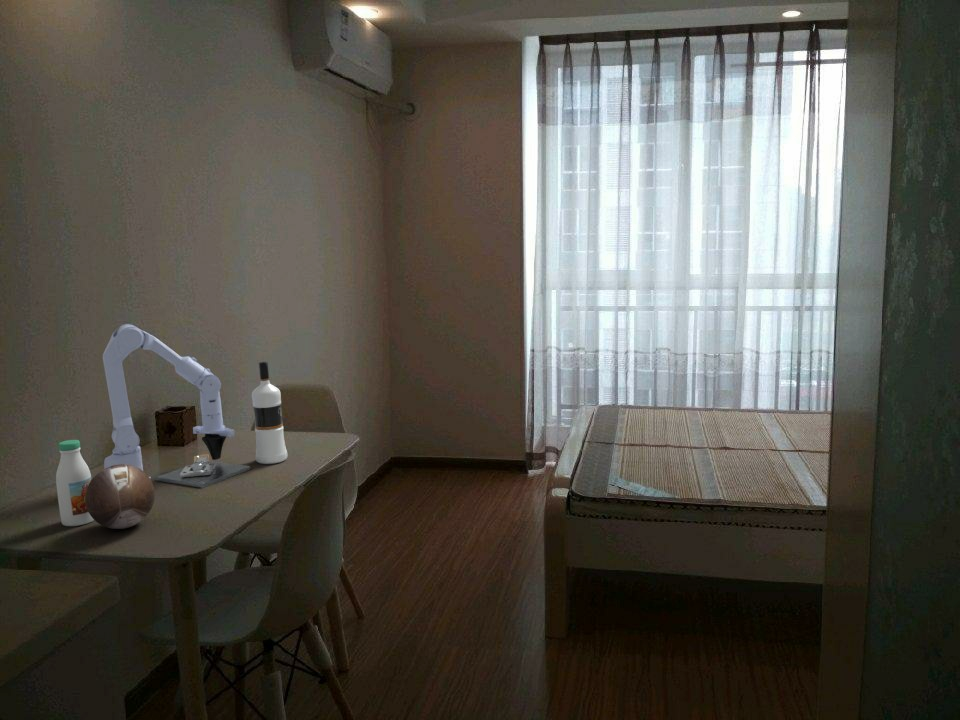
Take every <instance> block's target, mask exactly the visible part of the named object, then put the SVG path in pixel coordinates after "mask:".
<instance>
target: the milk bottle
mask: <svg viewBox="0 0 960 720" xmlns="http://www.w3.org/2000/svg"><path fill="white" fill-rule="evenodd" d="M81 449H82V448H81V442H80V440H79V439H68V440H64V441H61V442H59V443H58V450H59V451H58V452H59V453H60V459H59V463H58V465H57V466H58V467H57V470H56V475H55V483H56V485H55V486H56V491H57V492H56V493H57V502H58V509H59V515H60V521H61V525H63V526H65V527H77V526H82V525H87V524H89V523H91V522H94V521H95V520H94V519H93V518H92V517H91V516H90V514H89V512H88V510H87V507H86V503H85V495H86V490H87V487H88V485H89V483H90V481H91V480H92V479H93V478H92V474H91V470H90V468H89V466H88V464H87V463H86V461H85V460H84V459H83V456H82V454H81V452H80V451H81Z"/></svg>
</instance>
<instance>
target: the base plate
mask: <svg viewBox="0 0 960 720" xmlns="http://www.w3.org/2000/svg"><path fill="white" fill-rule="evenodd" d="M199 456H200V455H194V456H193V463H192V464H191V465H192V468H193V470H192V471H196V470H204V469H203V463H196V461H197V459H198V458H199ZM212 463H215V468H214V469H213V471H212V473H211V474H210V475H201V476H189V477H180V473H181V472H182V470H183V469H184V468H185V466H184V467H182V468H178V469H176V470H173V471H169V472H166V473H164V474H161V475H158V476H156V477H155V479H156V480H155V481H158V482H162V483H163V482H164V483H168V484H169V483H170V484H174V485H175V484H177V485H182V486H187V487H193V488H200V489H203V488H205V487H208V486H210V485H214V484H216V483H219V482H221V481H223V480H226V479H229V478H232V477H235V476H237V475H239V474H242V473H245V472H247V471H250V470H251V466H250V465H244V464H237V463H232V462H231V463H229V462H224V461H223V462H222V461H218V460H217V461H216V460H210V461H209V463H208V464H212Z"/></svg>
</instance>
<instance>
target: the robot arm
mask: <svg viewBox="0 0 960 720" xmlns="http://www.w3.org/2000/svg"><path fill="white" fill-rule="evenodd" d="M139 348H140V349H141V350H147V351H152V352H154V353H155V354H157V355H159V356H160V357H162V358H163V359H164V360H166V362H169V363H170V364H172V365H173V366H174V371H175V373H176V374H177V375H179V376H180V377H182V378H183V379H185V381H188V382H189V383H190V384H191V385H194V386H196V388H197V389H198V390H199V397H200V399H199V403H200V413H201V422H202V423H201V424H202V425H197V426H193V427H192V433H193V435H194V434H195V435H198V434H201V435H204V436H202V437H201V440H202V442H203V443H204V444H205V445H206V448H207V449H208V451H209V455H210V456H211V457H210V458H211V459H212V461H216V460H217V461H218V460H219V459H221V457H222V451H223V447H224V443H225V440H226V439H227V438H232V437H235V436H236V435H235V433H236V432H235V429H233V428H229V427H226V425H224V420H223V419H224V418H223V410H222V409H223V408H222V398H221V396H220V395H221V392H220V390H221V388H222V382H221V381H220V378H219V377H218V376H216V375H214V374H213V373H212V371H211V369H210V368H208V367H207V368H206V367H204V366H202V365H201V364H200V363H199V362H198V359H197V358H195V357H194V356H192V357H191V356H188V355H187V356H182V355H180V354H178V353H177V352H175V351H174V350H173V349H172V348H170V347H169V346H168V345H166V344H165V343H164V342H162V341H161V340H159V339H158V338H157V337H155V336H154V335H152V334H150V333H149V332H146V331H144V330H143V329H140V328H138V327H137V326H135V325H134V324H132V323H126V324H121V326H119V327H118V328H116V330H115V331H114V332H112V334H111V336H110V339H109V342H108V343H107V345H106V348H105V350H104V352H103V353H102V361H103V368H104V374H105V379H106V385H107V390H108V391H107V392H108V396H109V403H110V407H111V408H110V409H111V415H112V424H113V429H112V432H111V440H112V442H113V443H114V447H113V449H112V453H111V454H110V455H109V456H107V457H105V459H104V461H103V469H105V468H107V467H110V466H113V465H119V464H125V465H131V466H135V467H137V468H139V469H141V470H142V471H144V468H143V467H144V466H143V458H142V450H141V449H142V447H141V446H140V437H139V434H137V432H136V431H135V427H134V423H133V419H132V414H131V408H130V402H129V398H128V395H129V394H128V390H127V385H126V378H125V371H124V367H123V366H124V365H123V361H124V360H125V359H126V358H127V357H128V355H130V354H131V353H132V352H134V351H135V350H137V349H139ZM149 478H150V479H151V480H152V477H151V476H149Z"/></svg>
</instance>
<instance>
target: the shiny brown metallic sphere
mask: <svg viewBox="0 0 960 720" xmlns="http://www.w3.org/2000/svg"><path fill="white" fill-rule="evenodd" d="M149 477H150V476H149V475H148V474H147V473H146V472H145V471H144V470H143V471H142V470H141V469H139V468H137V467H135V466H131V465H125V464H119V465H113V466H110V467H107V468H105V469H104V468H103V469H102V470H100V471H99V472H97V473H96V474H95V475H94V476H93V477H92V478H91V479H92V480H91V481H90V483H89V485H88V487H87V490H86V495H85V503H86V507H87V510H88V512H89V514H90V516H91V517H92V518H93V519H94V520H93V521H95V522H96V523H97V524H98V525H101V526H103V527H105V528H108V529H114V530H120V529H121V530H123V529H128V528H131V527H134V526H136V525H137V524H139V523H141V522H142V521H143V520H144V519H145V518H146V517H147V516H148V515H149V514H150V511H151V510H152V509H153V506H154V504H155V503H154V502H155V499H156V491H155V486H154V483H153V481H152V478H151V479H150V478H149Z"/></svg>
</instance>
